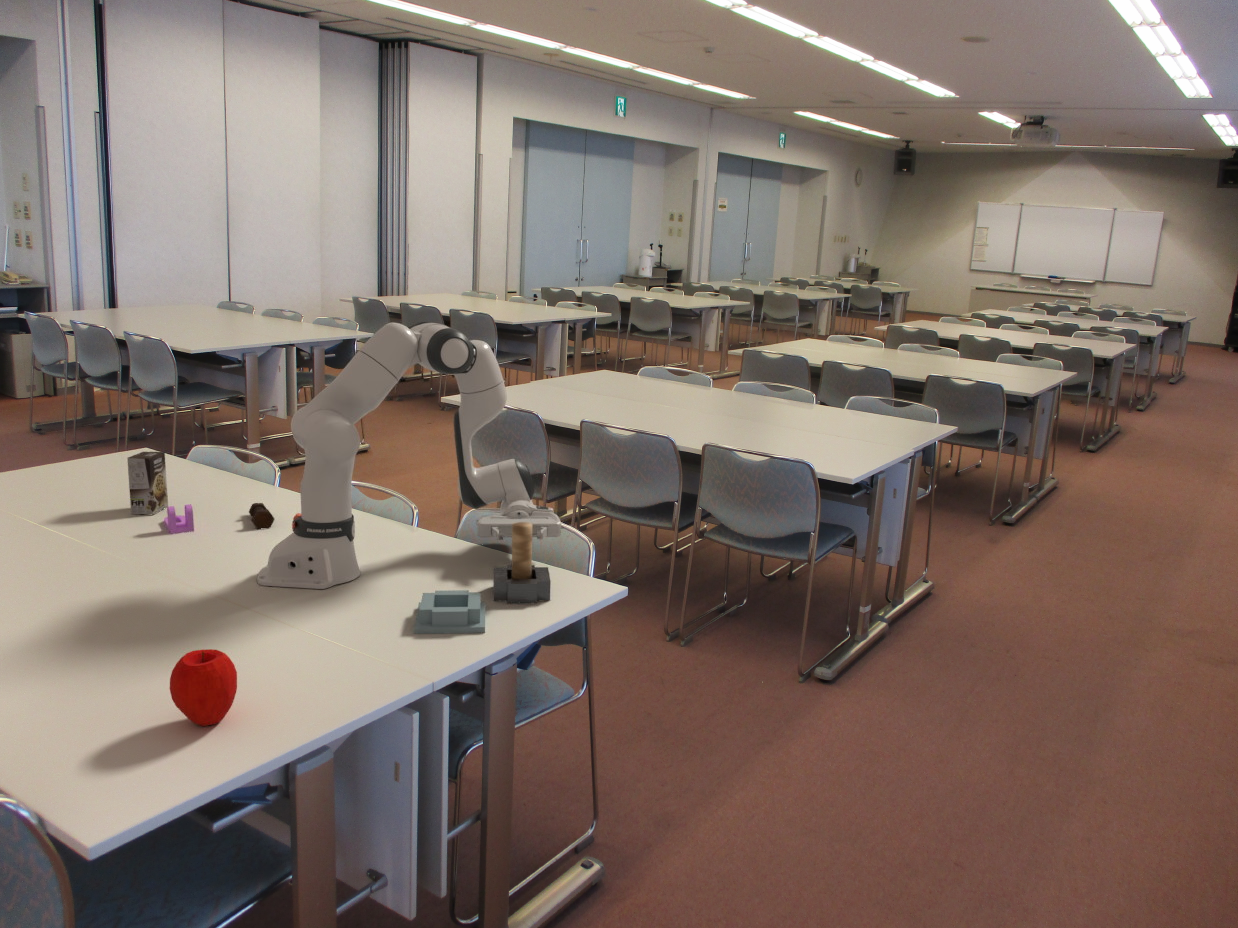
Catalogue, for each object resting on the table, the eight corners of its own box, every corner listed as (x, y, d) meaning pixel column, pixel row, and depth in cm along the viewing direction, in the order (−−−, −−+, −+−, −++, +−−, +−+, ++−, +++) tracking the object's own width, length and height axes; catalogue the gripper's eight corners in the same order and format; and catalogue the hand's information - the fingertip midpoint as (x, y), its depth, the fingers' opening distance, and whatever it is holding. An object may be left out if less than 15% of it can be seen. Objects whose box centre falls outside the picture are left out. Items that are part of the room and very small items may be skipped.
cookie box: (153, 515, 259) (149, 458, 256) (130, 514, 259) (125, 457, 256) (169, 506, 268) (165, 451, 265) (147, 505, 268) (142, 450, 265)
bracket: (194, 531, 247) (192, 506, 246) (170, 534, 244) (169, 508, 243) (185, 519, 258) (183, 494, 256) (162, 521, 255) (161, 496, 253)
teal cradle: (413, 633, 188) (413, 613, 187) (419, 607, 201) (418, 589, 200) (484, 632, 190) (485, 612, 189) (485, 606, 203) (485, 588, 202)
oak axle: (511, 596, 210) (512, 527, 206) (511, 589, 214) (512, 522, 211) (531, 596, 210) (532, 527, 207) (530, 589, 215) (531, 522, 211)
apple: (157, 728, 148) (152, 656, 145) (205, 702, 157) (201, 633, 154) (207, 742, 145) (202, 668, 142) (253, 714, 154) (249, 644, 151)
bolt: (259, 520, 265) (267, 533, 252) (242, 513, 263) (249, 526, 250) (269, 502, 266) (277, 514, 253) (252, 494, 263) (259, 506, 250)
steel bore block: (493, 603, 205) (493, 584, 204) (493, 583, 217) (493, 565, 216) (550, 602, 207) (551, 583, 206) (547, 583, 219) (547, 565, 218)
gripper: (476, 507, 233) (475, 523, 220) (559, 507, 236) (563, 523, 222) (476, 532, 234) (475, 549, 221) (558, 532, 237) (562, 549, 224)
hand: (520, 536), depth 222 cm, fingers open, 8 cm apart
